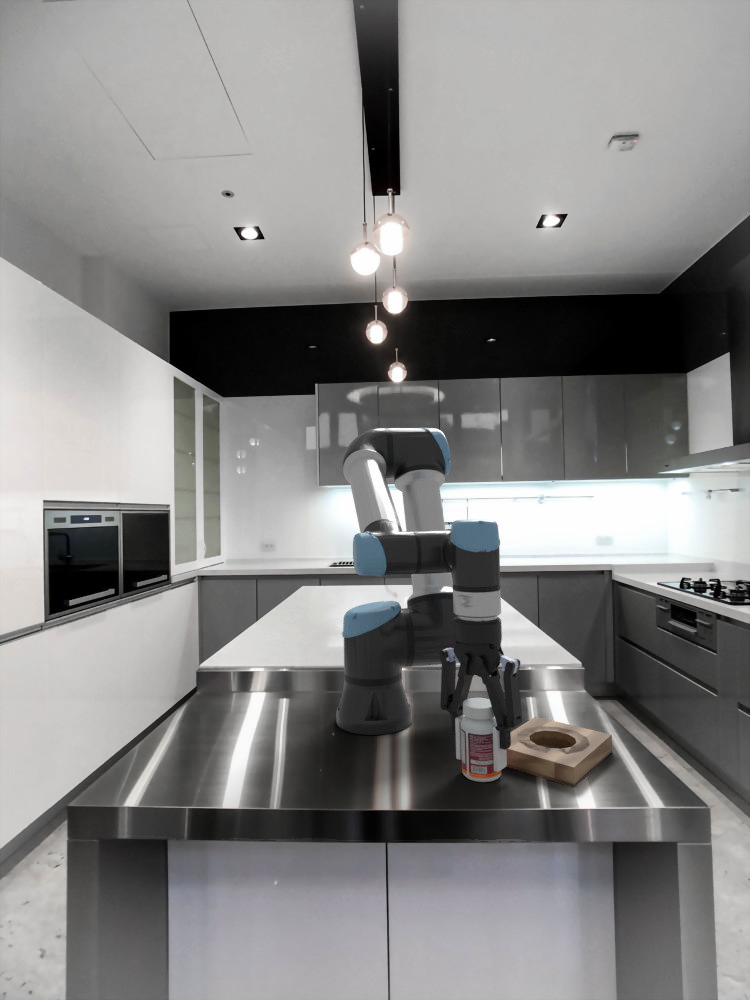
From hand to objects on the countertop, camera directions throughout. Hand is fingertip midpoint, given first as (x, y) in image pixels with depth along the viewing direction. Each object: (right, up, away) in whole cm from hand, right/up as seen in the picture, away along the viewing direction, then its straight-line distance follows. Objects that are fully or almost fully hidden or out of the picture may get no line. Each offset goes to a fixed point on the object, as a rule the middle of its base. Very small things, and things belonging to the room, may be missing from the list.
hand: (481, 761), depth 91 cm
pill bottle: (0, -2, 0) cm, 2 cm away
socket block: (+13, -2, +6) cm, 14 cm away
